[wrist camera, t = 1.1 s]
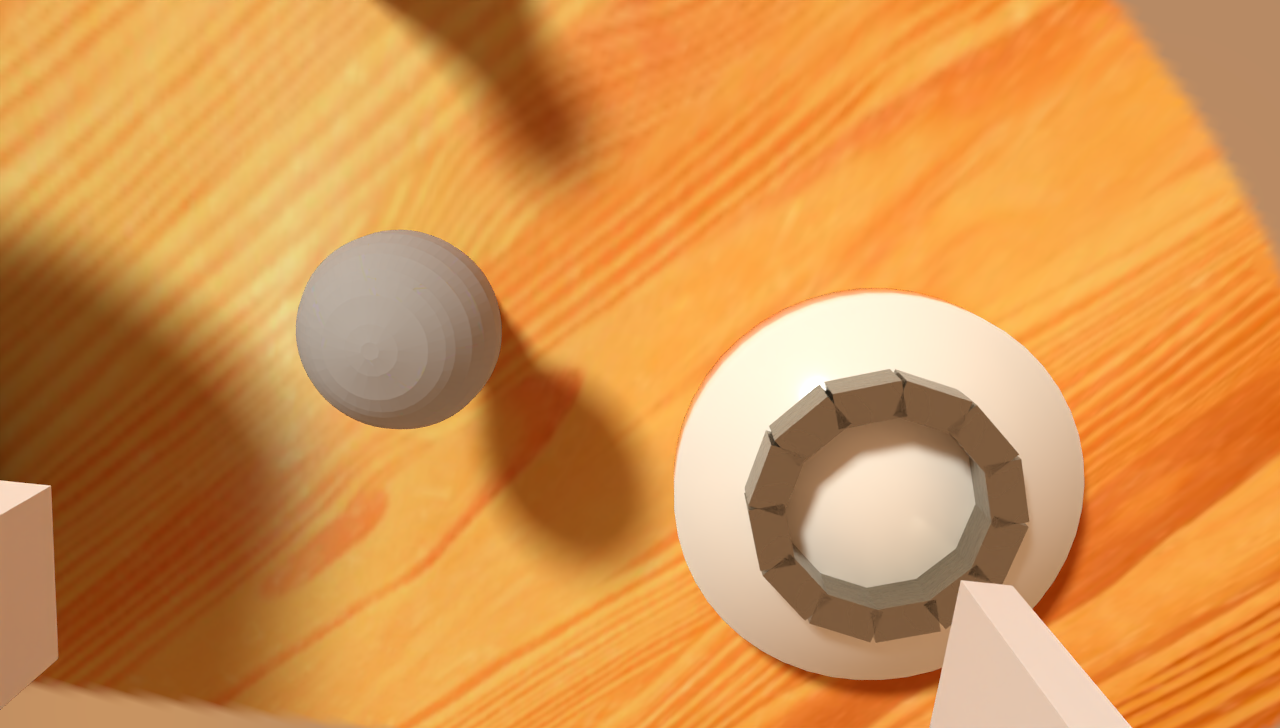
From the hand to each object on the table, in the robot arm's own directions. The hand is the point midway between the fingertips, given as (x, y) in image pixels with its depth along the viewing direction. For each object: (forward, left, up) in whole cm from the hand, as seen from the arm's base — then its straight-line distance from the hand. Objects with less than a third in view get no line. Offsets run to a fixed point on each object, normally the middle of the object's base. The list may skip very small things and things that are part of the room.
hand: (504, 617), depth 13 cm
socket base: (+11, -2, -20) cm, 23 cm away
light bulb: (-5, 0, -20) cm, 21 cm away
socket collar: (+11, -2, -18) cm, 21 cm away
